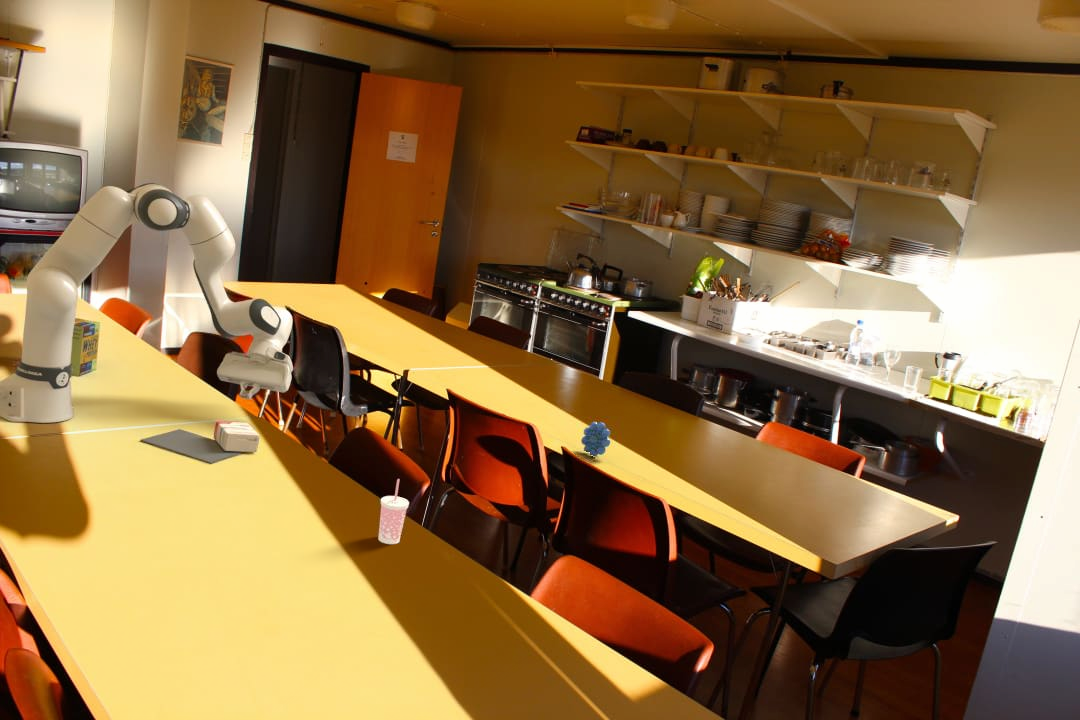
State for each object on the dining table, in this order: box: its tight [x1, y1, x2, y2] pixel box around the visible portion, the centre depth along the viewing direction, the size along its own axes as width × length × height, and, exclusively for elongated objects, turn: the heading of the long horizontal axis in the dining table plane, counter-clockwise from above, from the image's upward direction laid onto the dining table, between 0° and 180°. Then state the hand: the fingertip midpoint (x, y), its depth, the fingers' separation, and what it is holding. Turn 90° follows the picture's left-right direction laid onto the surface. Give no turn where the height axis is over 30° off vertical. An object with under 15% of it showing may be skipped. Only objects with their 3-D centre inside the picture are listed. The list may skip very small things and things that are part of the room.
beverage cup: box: [378, 478, 410, 545], centre depth 194 cm, size 6×6×14 cm
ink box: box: [213, 420, 260, 453], centre depth 234 cm, size 8×5×12 cm
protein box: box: [70, 317, 101, 377], centre depth 274 cm, size 10×15×16 cm
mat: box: [139, 428, 247, 465], centre depth 230 cm, size 22×14×1 cm, turn 70°
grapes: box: [580, 421, 611, 457], centre depth 285 cm, size 12×7×12 cm, turn 42°
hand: (244, 397), depth 248 cm, fingers closed
